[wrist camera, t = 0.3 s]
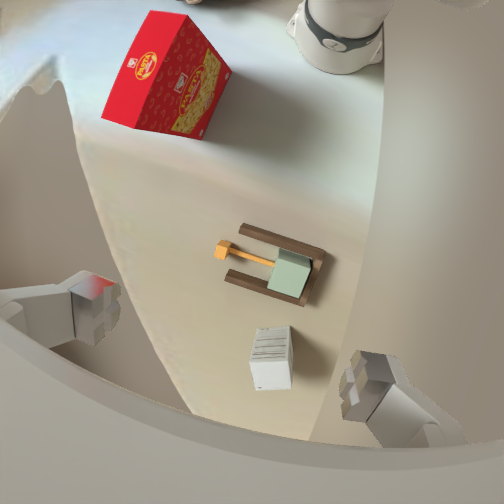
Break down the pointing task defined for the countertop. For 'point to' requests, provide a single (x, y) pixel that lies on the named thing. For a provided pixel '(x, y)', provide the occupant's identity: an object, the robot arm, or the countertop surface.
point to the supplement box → (272, 359)
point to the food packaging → (168, 79)
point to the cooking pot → (191, 1)
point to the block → (276, 268)
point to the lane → (285, 243)
